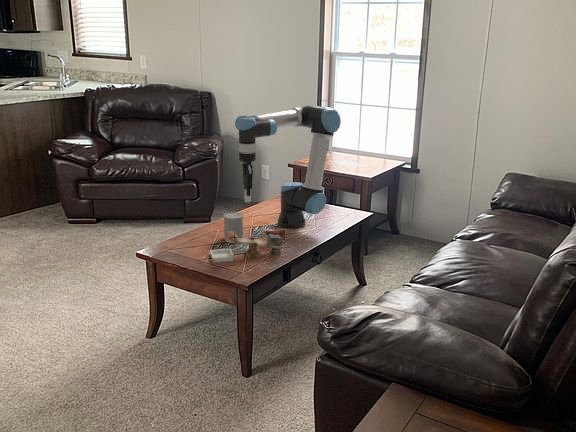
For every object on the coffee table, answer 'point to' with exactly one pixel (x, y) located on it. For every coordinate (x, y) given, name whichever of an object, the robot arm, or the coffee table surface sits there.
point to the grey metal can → (233, 224)
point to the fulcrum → (253, 250)
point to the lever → (272, 241)
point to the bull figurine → (274, 232)
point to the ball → (230, 234)
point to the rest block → (276, 251)
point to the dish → (222, 255)
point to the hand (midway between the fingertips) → (247, 201)
